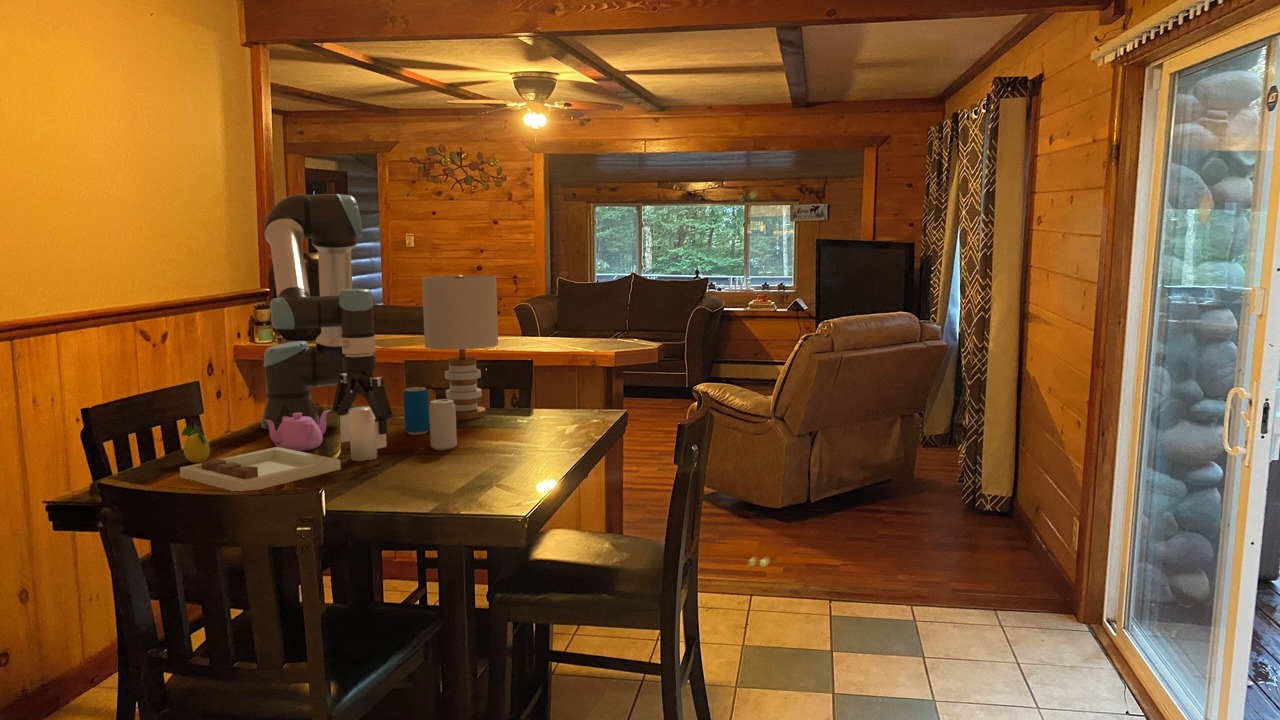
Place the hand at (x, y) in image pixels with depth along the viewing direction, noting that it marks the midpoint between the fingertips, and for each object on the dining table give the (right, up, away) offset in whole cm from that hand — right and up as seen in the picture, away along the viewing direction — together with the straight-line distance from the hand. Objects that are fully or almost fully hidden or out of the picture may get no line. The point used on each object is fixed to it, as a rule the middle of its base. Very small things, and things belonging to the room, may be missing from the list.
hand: (363, 444), depth 230 cm
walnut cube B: (-22, -6, -22) cm, 32 cm away
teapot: (-20, -2, +14) cm, 24 cm away
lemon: (-38, -5, -4) cm, 38 cm away
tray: (-18, -6, -16) cm, 25 cm away
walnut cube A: (-27, -5, -18) cm, 33 cm away
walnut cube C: (-18, -6, -25) cm, 32 cm away
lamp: (+15, +4, +52) cm, 55 cm away
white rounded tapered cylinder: (0, -3, 0) cm, 3 cm away
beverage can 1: (+6, 0, +29) cm, 30 cm away
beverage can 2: (+17, -2, +10) cm, 20 cm away
